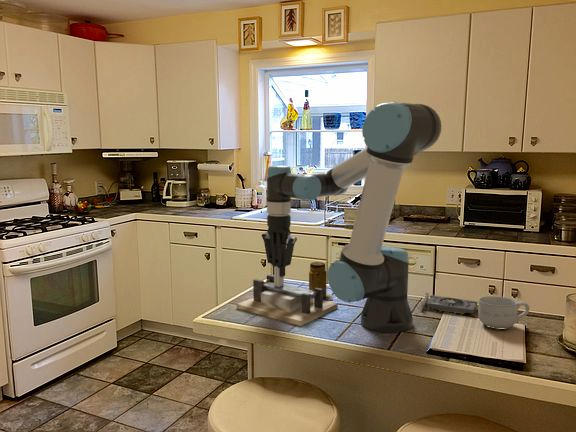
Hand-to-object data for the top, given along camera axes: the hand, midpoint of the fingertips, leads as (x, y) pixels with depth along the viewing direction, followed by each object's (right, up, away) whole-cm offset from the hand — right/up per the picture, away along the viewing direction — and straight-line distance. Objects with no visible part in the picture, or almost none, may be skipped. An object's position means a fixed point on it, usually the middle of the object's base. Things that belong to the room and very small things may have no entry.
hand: (278, 285), depth 166 cm
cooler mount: (+3, -7, -1) cm, 8 cm away
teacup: (+65, -10, -18) cm, 69 cm away
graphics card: (+54, -8, -3) cm, 55 cm away
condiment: (+14, -6, +10) cm, 18 cm away
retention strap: (+3, -2, -2) cm, 4 cm away
